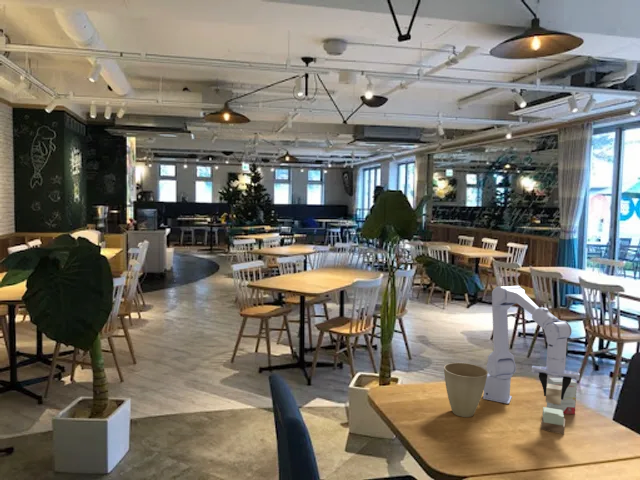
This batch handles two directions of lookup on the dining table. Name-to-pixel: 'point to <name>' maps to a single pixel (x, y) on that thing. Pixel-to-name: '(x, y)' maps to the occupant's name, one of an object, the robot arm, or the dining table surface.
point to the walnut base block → (553, 427)
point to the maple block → (553, 394)
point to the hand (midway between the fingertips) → (553, 396)
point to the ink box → (565, 396)
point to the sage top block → (553, 416)
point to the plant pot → (464, 387)
